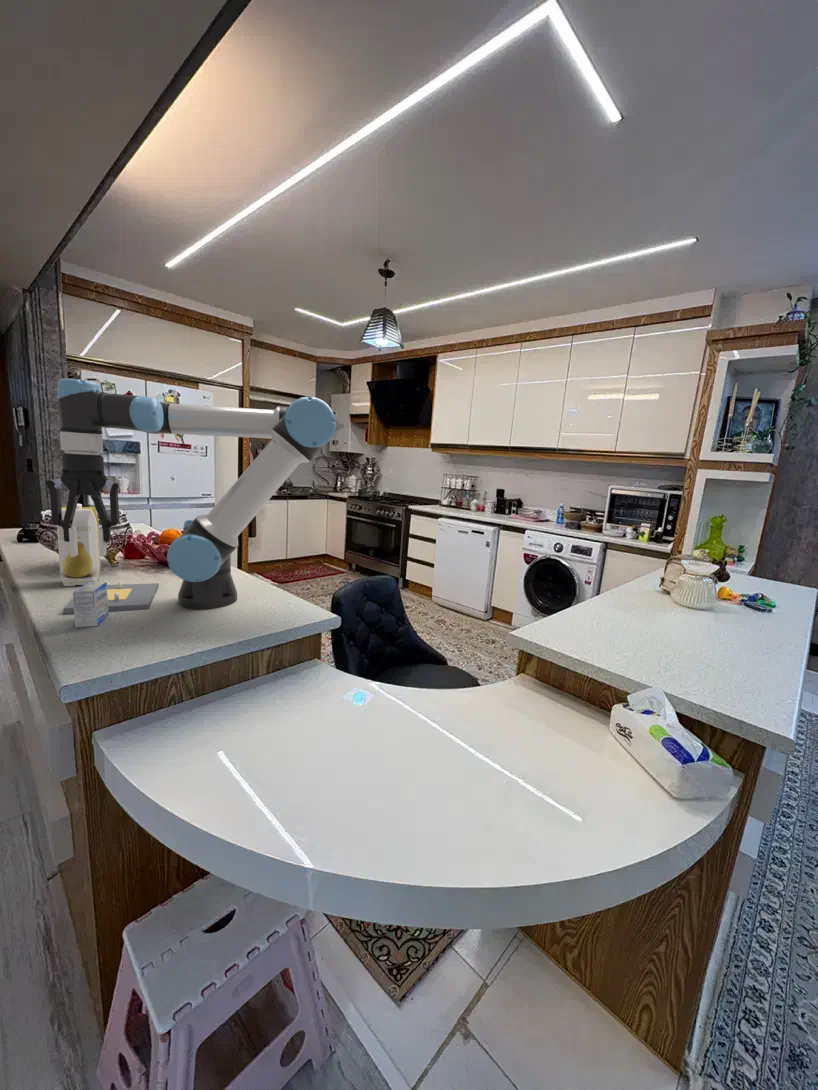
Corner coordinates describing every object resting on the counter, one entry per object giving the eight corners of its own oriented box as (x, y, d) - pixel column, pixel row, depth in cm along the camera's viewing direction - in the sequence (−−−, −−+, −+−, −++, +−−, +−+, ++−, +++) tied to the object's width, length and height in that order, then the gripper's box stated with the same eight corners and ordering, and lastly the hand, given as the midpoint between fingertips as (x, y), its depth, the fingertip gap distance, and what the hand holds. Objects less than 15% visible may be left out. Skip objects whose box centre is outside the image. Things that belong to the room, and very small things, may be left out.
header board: (158, 588, 132) (158, 576, 131) (148, 609, 114) (148, 597, 113) (86, 590, 125) (85, 578, 124) (64, 614, 107) (63, 600, 106)
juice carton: (59, 588, 125) (53, 504, 121) (64, 580, 132) (59, 501, 127) (99, 585, 129) (95, 505, 125) (102, 578, 136) (98, 502, 132)
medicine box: (97, 627, 101) (95, 591, 99) (74, 628, 99) (72, 591, 98) (109, 615, 108) (107, 581, 107) (87, 616, 107) (85, 581, 105)
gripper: (132, 456, 104) (136, 551, 108) (38, 449, 97) (46, 552, 101) (126, 456, 97) (131, 558, 101) (24, 449, 90) (34, 559, 94)
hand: (88, 555), depth 101 cm, fingers open, 5 cm apart
